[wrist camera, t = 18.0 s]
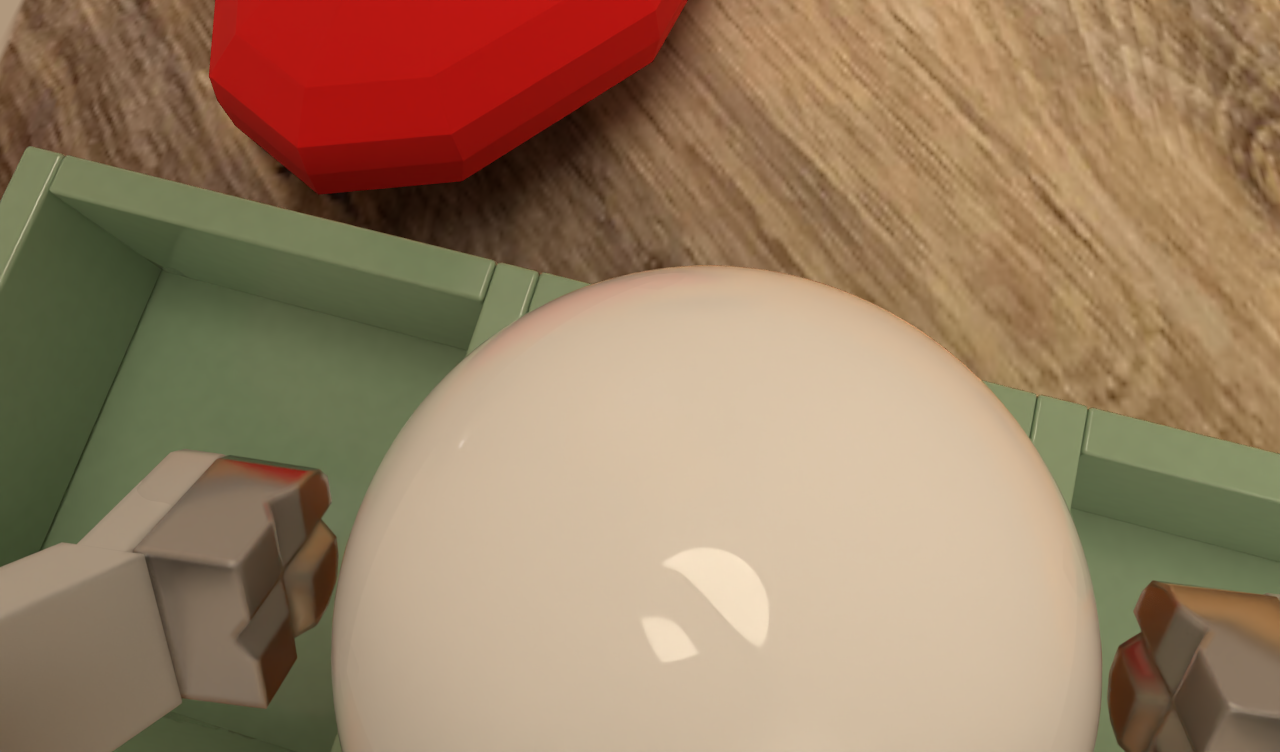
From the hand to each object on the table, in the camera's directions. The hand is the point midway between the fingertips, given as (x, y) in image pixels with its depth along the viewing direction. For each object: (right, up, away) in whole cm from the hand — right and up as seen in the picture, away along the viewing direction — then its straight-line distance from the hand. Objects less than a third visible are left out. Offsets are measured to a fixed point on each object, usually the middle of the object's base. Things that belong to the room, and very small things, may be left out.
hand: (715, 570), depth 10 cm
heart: (-4, +10, +11) cm, 16 cm away
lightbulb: (0, -2, +7) cm, 7 cm away
